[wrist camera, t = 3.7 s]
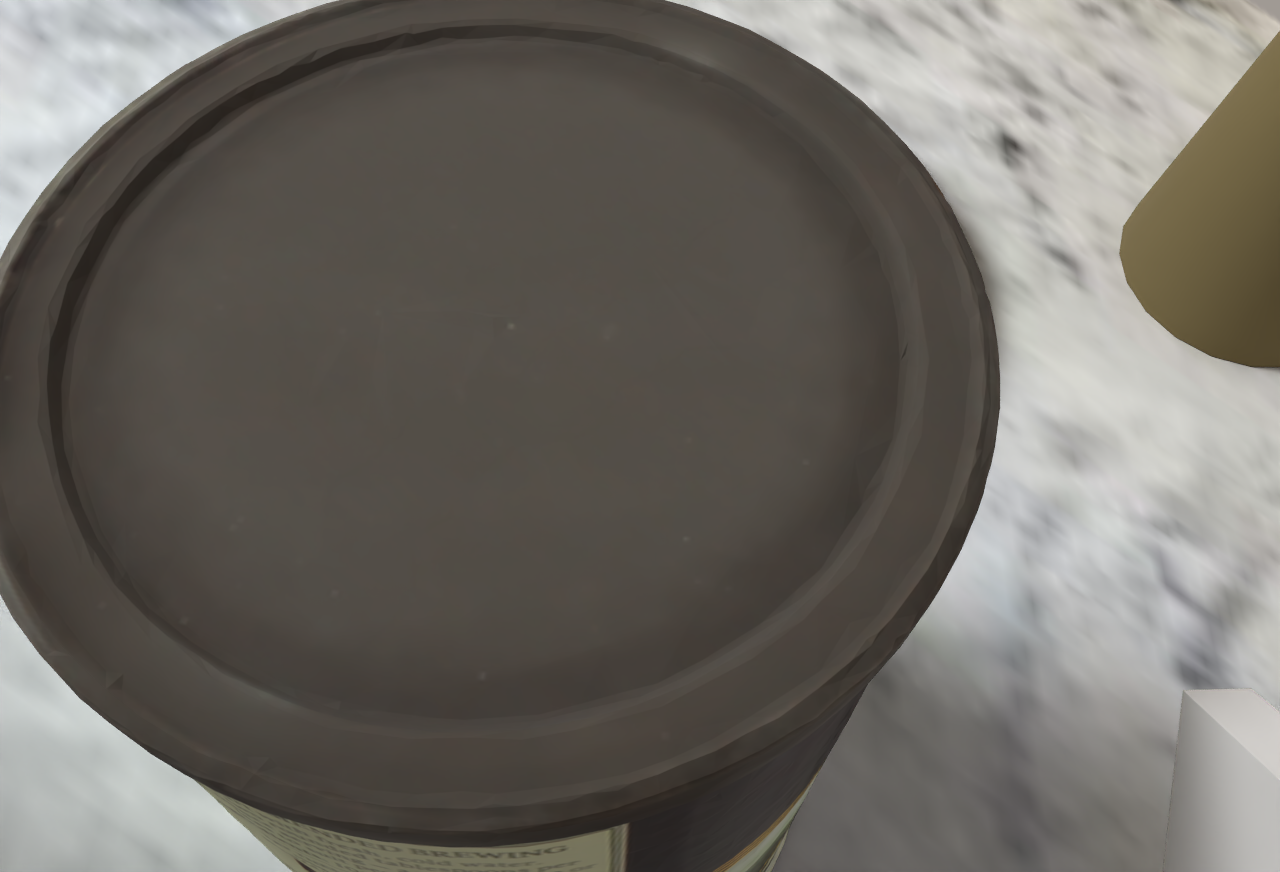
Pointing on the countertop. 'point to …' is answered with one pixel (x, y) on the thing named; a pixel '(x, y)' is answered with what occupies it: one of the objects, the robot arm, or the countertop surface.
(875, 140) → the coffee can
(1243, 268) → the cork
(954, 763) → the countertop surface
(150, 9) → the countertop surface
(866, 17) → the countertop surface
